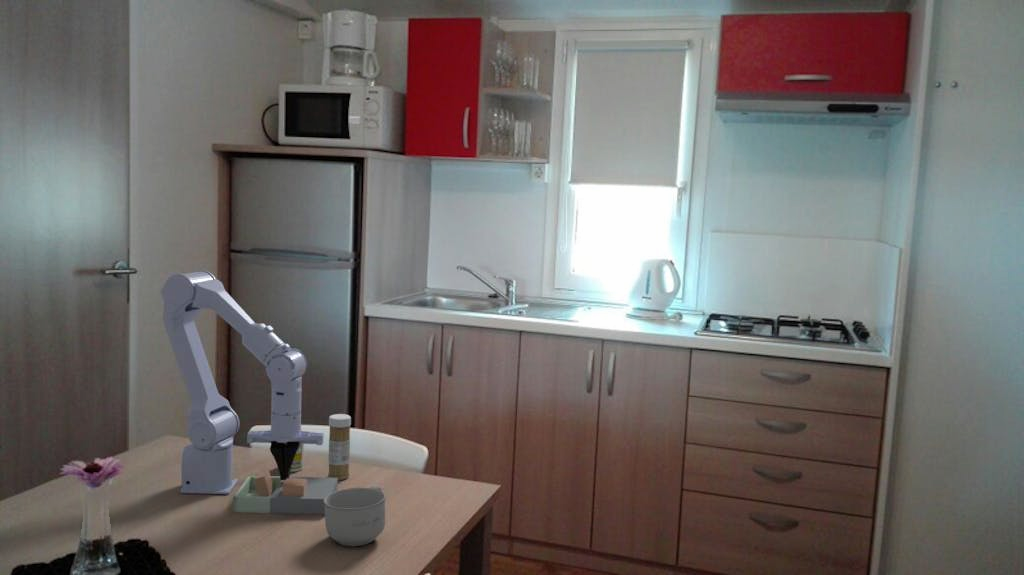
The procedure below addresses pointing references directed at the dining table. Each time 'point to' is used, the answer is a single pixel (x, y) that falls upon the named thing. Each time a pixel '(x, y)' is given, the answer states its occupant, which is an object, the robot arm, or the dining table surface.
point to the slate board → (304, 497)
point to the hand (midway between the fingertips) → (284, 478)
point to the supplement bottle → (298, 459)
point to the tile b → (294, 487)
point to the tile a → (264, 483)
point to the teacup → (355, 515)
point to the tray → (252, 497)
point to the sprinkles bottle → (339, 446)
